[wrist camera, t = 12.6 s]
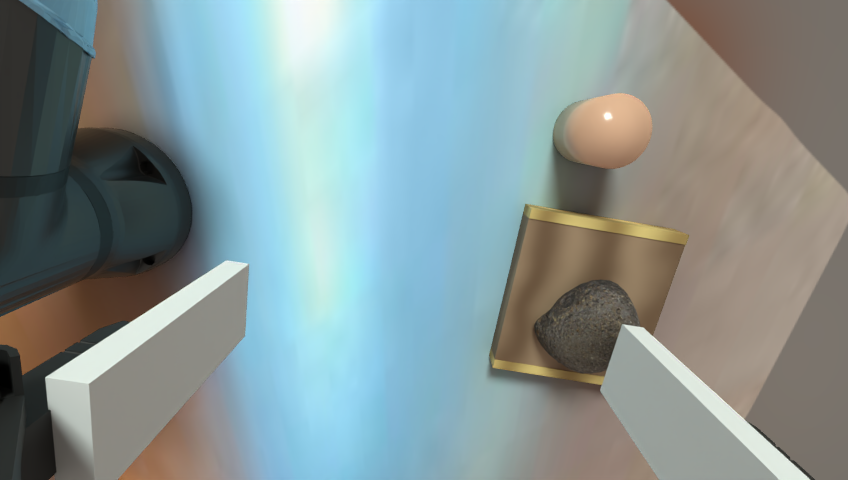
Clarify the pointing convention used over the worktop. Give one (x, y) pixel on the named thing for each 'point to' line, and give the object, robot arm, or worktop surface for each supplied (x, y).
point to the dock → (578, 278)
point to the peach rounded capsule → (603, 131)
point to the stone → (586, 325)
